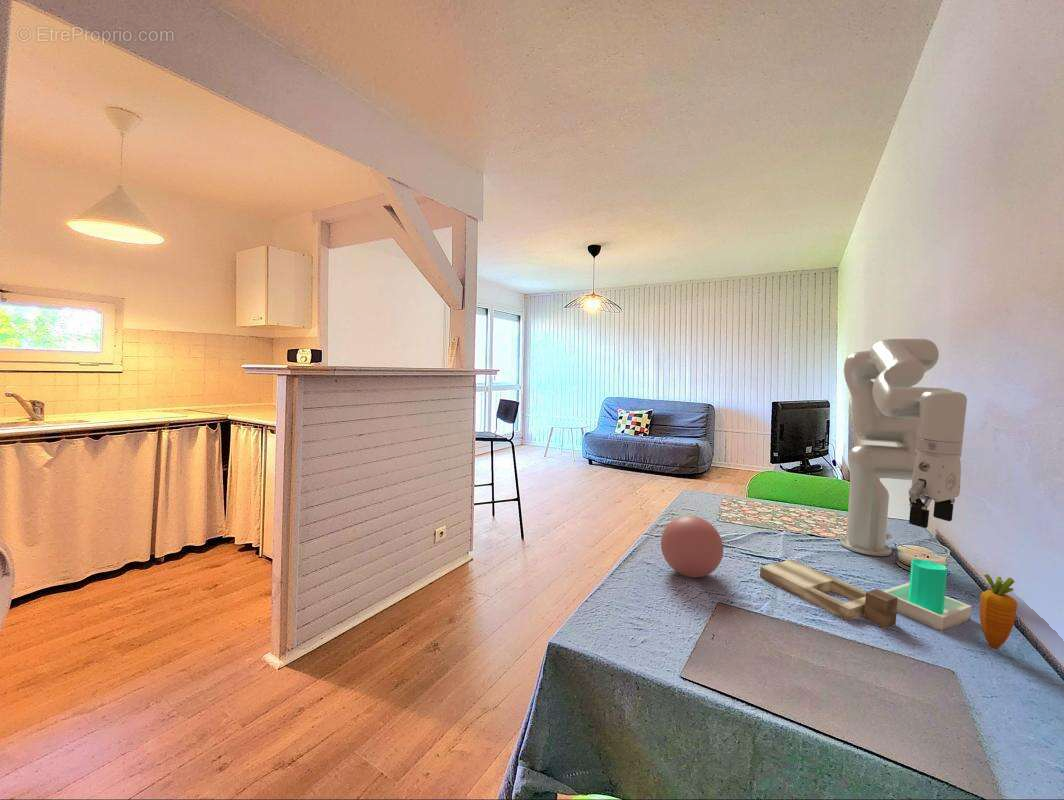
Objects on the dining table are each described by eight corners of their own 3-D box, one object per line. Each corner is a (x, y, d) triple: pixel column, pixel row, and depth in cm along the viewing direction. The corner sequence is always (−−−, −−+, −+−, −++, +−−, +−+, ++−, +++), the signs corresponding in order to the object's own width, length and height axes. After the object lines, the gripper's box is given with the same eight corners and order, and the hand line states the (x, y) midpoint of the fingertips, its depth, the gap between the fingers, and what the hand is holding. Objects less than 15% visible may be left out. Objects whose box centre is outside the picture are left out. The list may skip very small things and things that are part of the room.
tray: (908, 594, 109) (909, 582, 108) (970, 619, 98) (971, 606, 98) (880, 603, 104) (881, 591, 104) (941, 631, 93) (943, 617, 93)
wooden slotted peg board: (791, 568, 122) (791, 559, 122) (881, 608, 102) (882, 598, 102) (759, 576, 117) (760, 566, 117) (848, 620, 97) (849, 609, 97)
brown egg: (740, 570, 120) (743, 515, 119) (702, 595, 107) (705, 532, 106) (688, 552, 131) (690, 501, 130) (648, 572, 118) (650, 515, 117)
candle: (950, 618, 97) (954, 565, 96) (917, 614, 99) (922, 561, 98) (932, 604, 103) (936, 553, 102) (902, 600, 104) (906, 550, 103)
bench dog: (874, 614, 99) (876, 588, 99) (895, 624, 96) (897, 597, 95) (863, 618, 98) (865, 592, 97) (884, 628, 94) (886, 601, 94)
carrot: (968, 641, 90) (975, 569, 89) (991, 640, 90) (998, 569, 89) (996, 658, 85) (1003, 582, 84) (1019, 657, 85) (1027, 581, 84)
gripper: (937, 454, 91) (929, 535, 93) (980, 447, 98) (972, 522, 100) (895, 447, 98) (888, 522, 100) (938, 441, 105) (931, 511, 107)
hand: (930, 522), depth 100 cm, fingers open, 9 cm apart
